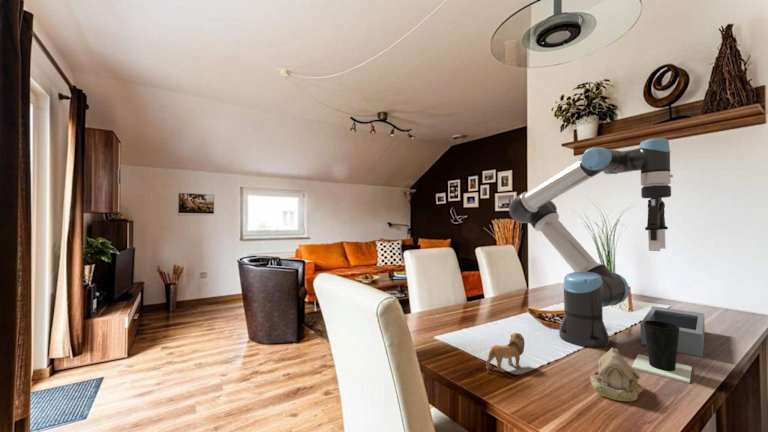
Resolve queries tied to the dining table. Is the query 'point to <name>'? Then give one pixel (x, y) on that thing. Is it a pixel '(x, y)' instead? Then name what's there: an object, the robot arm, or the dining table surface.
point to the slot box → (680, 328)
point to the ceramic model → (616, 378)
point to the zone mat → (679, 374)
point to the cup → (662, 344)
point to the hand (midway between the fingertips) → (657, 249)
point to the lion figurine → (507, 352)
